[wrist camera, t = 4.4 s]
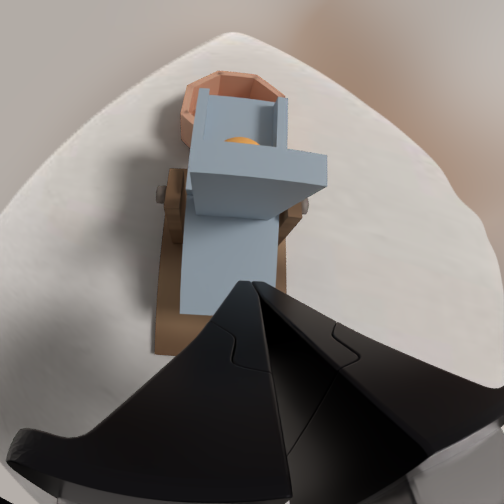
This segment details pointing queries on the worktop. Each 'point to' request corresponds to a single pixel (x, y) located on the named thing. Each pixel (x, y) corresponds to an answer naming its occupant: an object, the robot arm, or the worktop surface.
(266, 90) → the orange octagonal bowl
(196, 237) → the catapult lever
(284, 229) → the stand
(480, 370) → the worktop surface
